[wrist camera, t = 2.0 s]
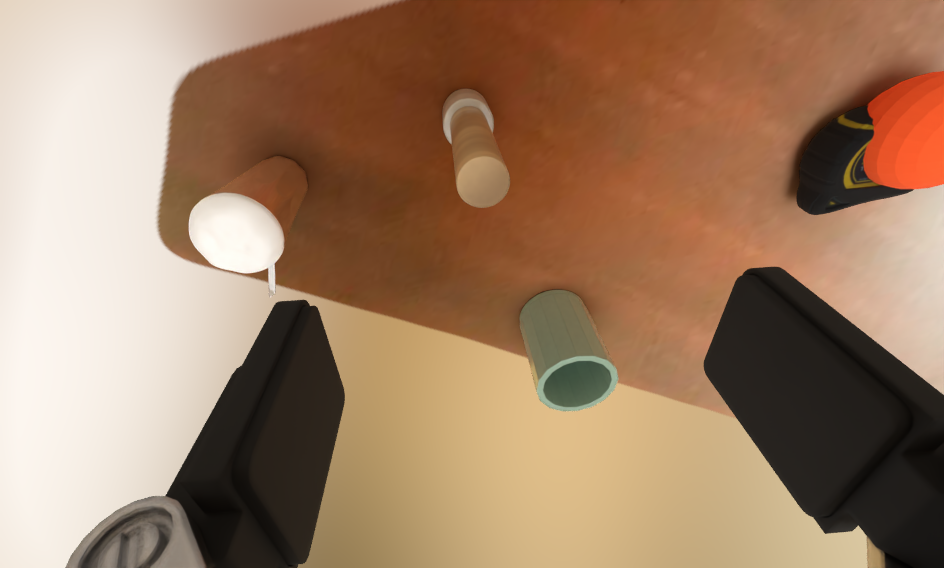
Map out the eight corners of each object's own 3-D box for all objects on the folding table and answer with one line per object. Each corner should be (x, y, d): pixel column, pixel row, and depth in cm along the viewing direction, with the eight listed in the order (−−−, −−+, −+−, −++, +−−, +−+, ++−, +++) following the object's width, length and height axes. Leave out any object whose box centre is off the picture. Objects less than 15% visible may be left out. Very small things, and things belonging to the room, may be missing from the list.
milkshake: (294, 229, 30) (242, 316, 22) (232, 170, 27) (147, 244, 19) (340, 196, 29) (304, 274, 21) (281, 131, 26) (212, 192, 18)
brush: (432, 112, 26) (430, 182, 16) (466, 77, 25) (486, 129, 15) (464, 146, 28) (480, 230, 18) (498, 114, 27) (534, 184, 17)
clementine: (967, 47, 26) (1117, 62, 21) (920, 153, 30) (1035, 190, 25) (838, 76, 27) (950, 99, 21) (809, 177, 31) (896, 219, 25)
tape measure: (780, 202, 32) (816, 224, 29) (801, 112, 28) (845, 126, 25) (871, 181, 31) (918, 201, 28) (906, 86, 28) (964, 98, 24)
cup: (505, 316, 37) (521, 386, 30) (560, 277, 34) (589, 343, 28) (545, 350, 39) (567, 421, 33) (598, 316, 37) (632, 384, 31)
